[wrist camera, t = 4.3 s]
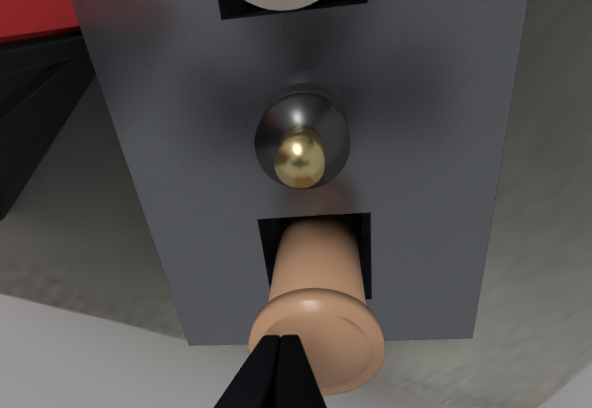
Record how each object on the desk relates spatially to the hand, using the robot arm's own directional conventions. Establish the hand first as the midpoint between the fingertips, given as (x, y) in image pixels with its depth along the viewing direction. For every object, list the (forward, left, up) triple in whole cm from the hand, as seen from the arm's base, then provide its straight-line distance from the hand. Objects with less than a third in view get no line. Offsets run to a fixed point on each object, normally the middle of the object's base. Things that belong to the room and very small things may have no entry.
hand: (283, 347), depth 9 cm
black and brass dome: (-1, -3, -7) cm, 8 cm away
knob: (-1, +3, -8) cm, 9 cm away
